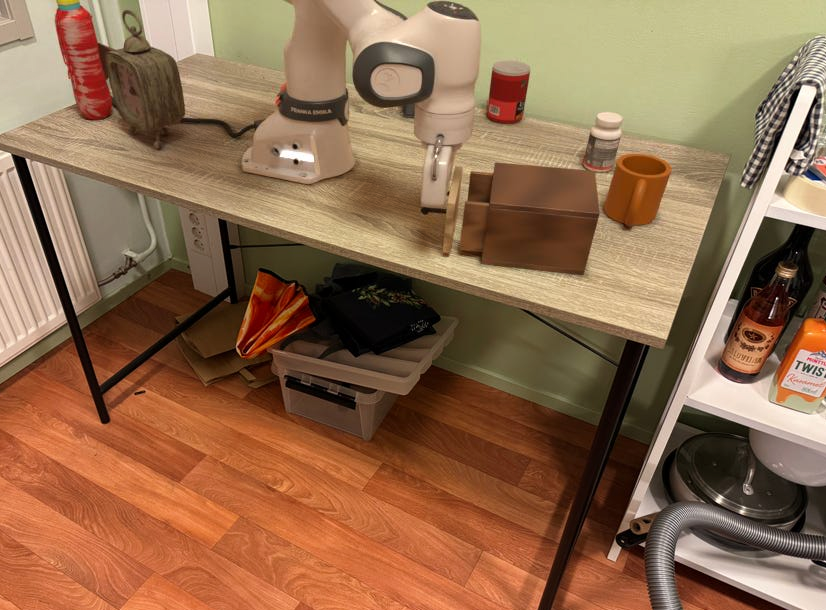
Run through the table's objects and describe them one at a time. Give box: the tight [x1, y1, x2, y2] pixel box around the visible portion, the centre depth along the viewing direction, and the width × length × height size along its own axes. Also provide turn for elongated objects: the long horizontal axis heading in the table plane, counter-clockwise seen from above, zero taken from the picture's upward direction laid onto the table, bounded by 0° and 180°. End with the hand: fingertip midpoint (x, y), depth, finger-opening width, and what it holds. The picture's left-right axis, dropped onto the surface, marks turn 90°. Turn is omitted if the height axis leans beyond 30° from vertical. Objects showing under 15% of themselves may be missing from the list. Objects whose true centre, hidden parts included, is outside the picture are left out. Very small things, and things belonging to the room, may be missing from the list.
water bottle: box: [54, 0, 116, 121], centre depth 147 cm, size 12×8×25 cm, turn 145°
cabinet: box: [480, 161, 601, 276], centre depth 108 cm, size 16×14×11 cm
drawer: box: [419, 165, 494, 254], centre depth 110 cm, size 19×13×9 cm, turn 78°
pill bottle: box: [582, 111, 623, 173], centre depth 130 cm, size 6×6×10 cm
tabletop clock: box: [105, 9, 186, 150], centre depth 137 cm, size 14×9×25 cm, turn 42°
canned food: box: [486, 60, 531, 125], centre depth 148 cm, size 8×8×11 cm
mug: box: [603, 153, 673, 228], centre depth 116 cm, size 9×12×9 cm
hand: (437, 205), depth 111 cm, fingers closed
